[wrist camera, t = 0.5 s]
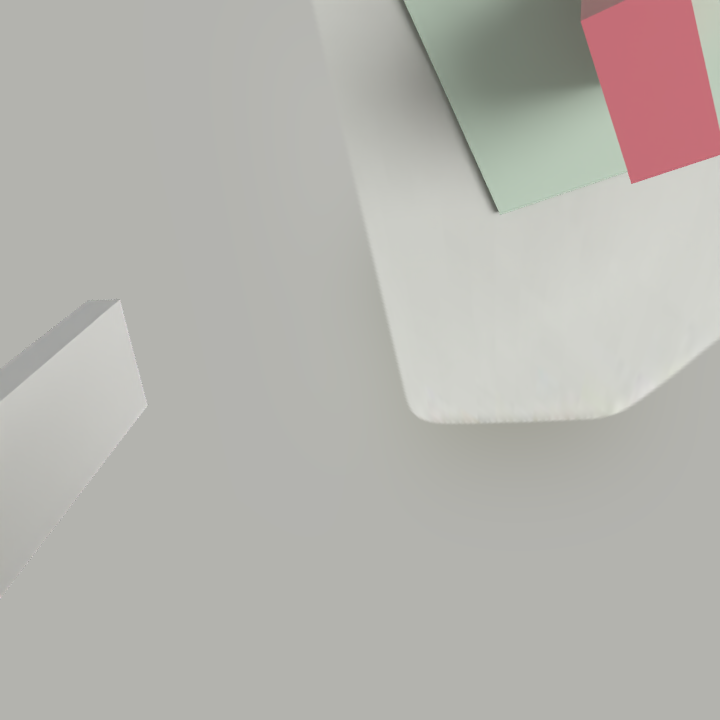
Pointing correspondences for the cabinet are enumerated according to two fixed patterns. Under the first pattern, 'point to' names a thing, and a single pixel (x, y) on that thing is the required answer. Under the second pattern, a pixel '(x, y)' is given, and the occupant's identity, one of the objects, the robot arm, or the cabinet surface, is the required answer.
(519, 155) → the mat
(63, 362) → the robot arm
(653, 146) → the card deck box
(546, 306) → the cabinet surface
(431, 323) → the cabinet surface
